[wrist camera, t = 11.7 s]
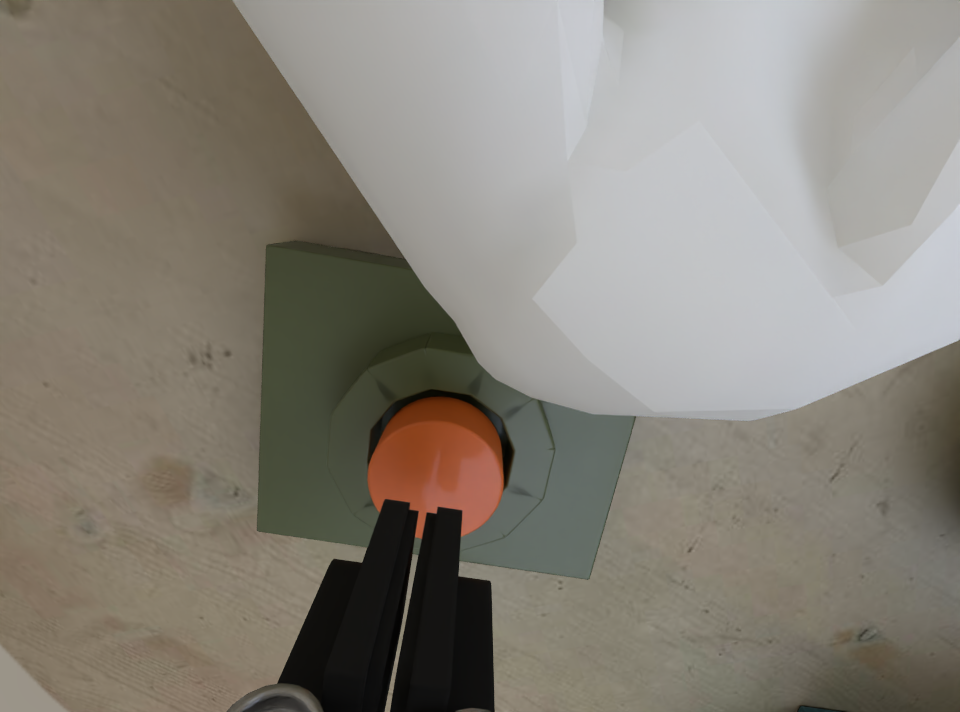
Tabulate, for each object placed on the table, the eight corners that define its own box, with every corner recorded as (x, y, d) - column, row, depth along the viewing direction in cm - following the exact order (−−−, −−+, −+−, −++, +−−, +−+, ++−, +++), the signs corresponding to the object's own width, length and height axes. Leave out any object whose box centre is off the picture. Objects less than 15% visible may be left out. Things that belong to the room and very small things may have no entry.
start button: (374, 494, 14) (360, 531, 13) (387, 386, 13) (373, 410, 12) (490, 512, 15) (490, 551, 13) (511, 406, 14) (515, 433, 12)
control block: (282, 495, 19) (229, 569, 15) (294, 240, 16) (233, 248, 12) (578, 540, 19) (601, 622, 15) (643, 299, 16) (692, 325, 12)
